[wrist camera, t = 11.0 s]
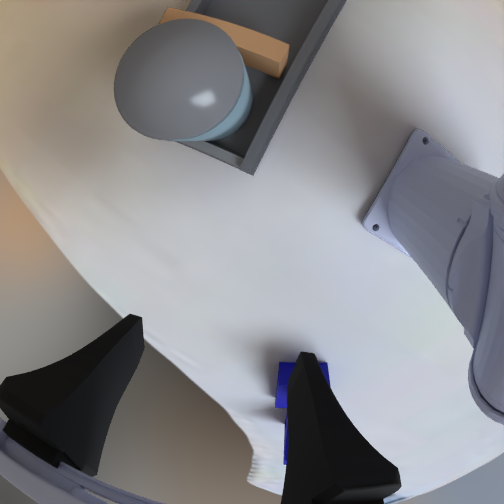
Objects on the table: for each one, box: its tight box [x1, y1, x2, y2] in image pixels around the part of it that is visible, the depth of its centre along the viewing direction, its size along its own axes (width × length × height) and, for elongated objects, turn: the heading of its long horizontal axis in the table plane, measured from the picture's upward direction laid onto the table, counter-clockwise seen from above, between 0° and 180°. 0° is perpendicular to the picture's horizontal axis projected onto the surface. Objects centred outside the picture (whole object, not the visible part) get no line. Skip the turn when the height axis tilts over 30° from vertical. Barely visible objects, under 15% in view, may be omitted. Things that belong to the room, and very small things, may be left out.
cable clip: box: [275, 362, 331, 465], centre depth 25 cm, size 12×4×6 cm, turn 0°
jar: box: [114, 19, 253, 141], centre depth 12 cm, size 5×5×7 cm
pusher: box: [159, 7, 289, 79], centre depth 12 cm, size 6×1×5 cm, turn 65°
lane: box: [176, 0, 346, 175], centre depth 11 cm, size 8×21×3 cm, turn 155°
